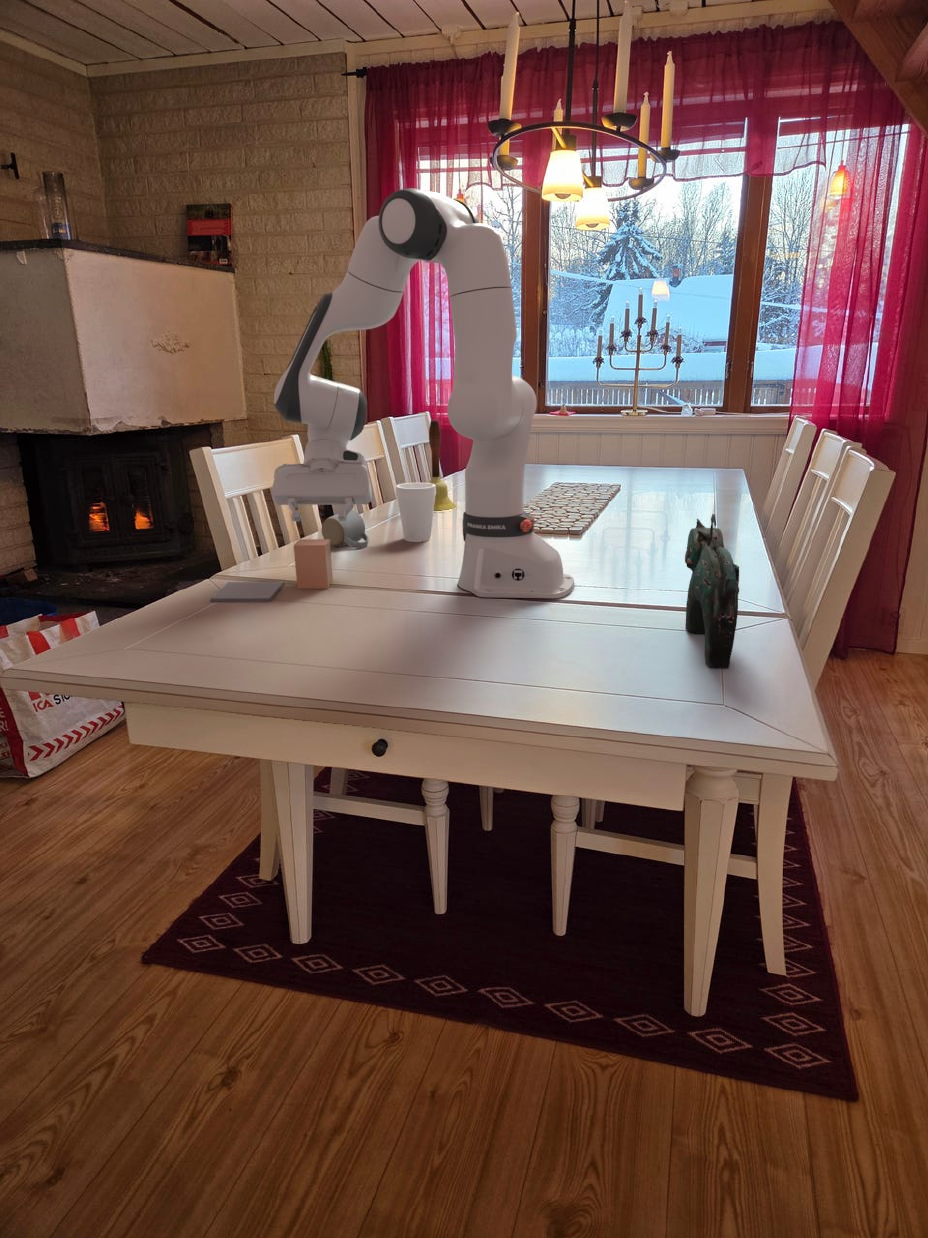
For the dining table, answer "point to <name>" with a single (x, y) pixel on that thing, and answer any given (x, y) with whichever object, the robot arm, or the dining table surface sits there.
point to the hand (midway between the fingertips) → (318, 519)
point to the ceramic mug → (345, 530)
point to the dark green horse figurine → (712, 593)
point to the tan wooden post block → (313, 563)
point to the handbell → (441, 488)
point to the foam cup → (416, 510)
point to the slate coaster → (247, 591)
